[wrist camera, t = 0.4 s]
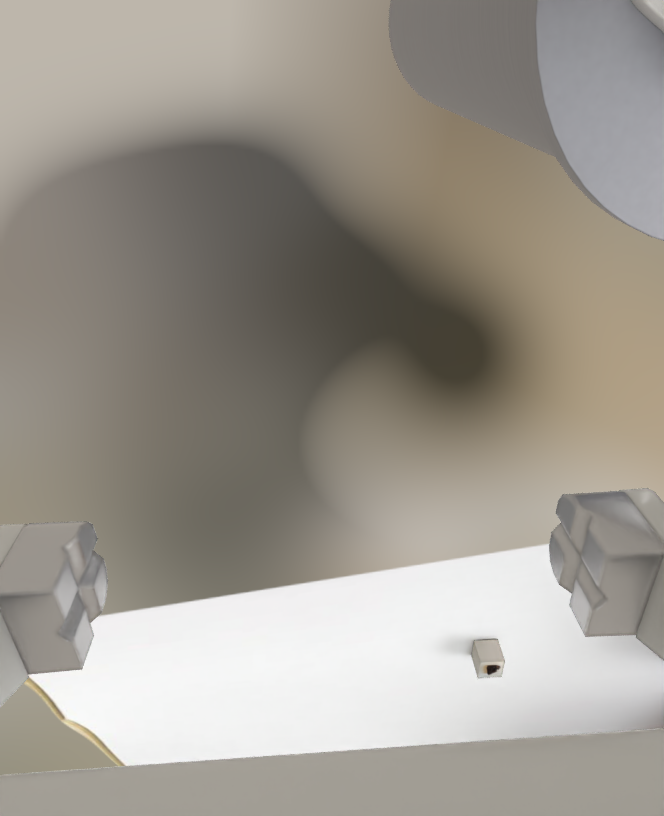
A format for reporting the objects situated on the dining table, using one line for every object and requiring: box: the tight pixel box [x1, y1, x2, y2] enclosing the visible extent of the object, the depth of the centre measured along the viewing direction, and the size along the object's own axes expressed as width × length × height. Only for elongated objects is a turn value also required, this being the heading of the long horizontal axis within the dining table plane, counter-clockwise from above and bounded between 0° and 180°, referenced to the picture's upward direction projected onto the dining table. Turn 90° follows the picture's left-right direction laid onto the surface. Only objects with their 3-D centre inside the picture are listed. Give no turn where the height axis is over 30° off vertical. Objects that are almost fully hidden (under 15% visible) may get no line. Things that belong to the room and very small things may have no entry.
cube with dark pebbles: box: [472, 639, 505, 678], centre depth 53 cm, size 2×2×2 cm
